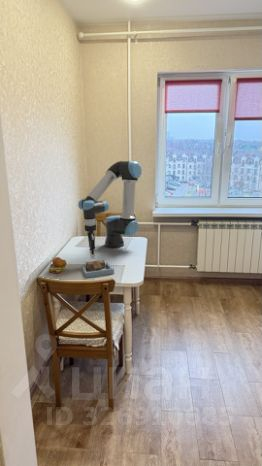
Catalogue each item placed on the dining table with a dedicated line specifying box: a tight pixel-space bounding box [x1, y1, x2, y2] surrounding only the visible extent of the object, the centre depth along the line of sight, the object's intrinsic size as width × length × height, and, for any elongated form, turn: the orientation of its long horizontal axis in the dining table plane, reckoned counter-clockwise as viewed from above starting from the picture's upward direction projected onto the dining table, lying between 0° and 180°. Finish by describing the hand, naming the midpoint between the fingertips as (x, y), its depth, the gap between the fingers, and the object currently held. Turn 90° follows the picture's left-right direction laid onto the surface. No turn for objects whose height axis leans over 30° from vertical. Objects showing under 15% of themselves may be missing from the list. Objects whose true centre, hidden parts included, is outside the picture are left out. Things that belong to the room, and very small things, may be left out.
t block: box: [85, 259, 106, 271], centre depth 205 cm, size 12×12×4 cm
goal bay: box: [81, 261, 115, 278], centre depth 203 cm, size 17×15×3 cm
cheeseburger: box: [47, 256, 67, 274], centre depth 205 cm, size 10×11×10 cm
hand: (92, 258), depth 218 cm, fingers closed
